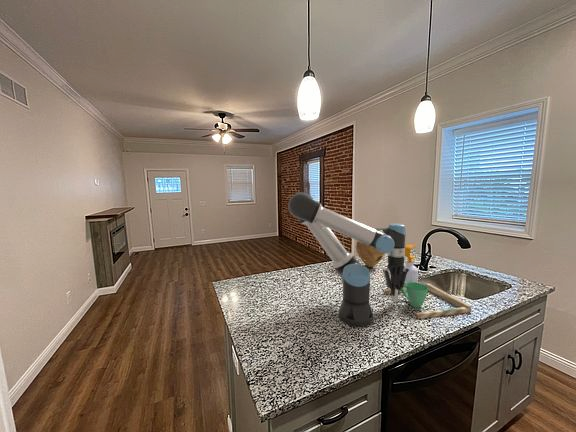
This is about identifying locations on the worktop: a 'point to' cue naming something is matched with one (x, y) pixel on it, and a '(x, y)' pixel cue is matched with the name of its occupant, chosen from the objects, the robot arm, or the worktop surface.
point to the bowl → (368, 254)
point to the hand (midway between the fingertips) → (394, 301)
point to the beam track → (447, 311)
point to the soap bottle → (410, 266)
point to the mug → (415, 293)
